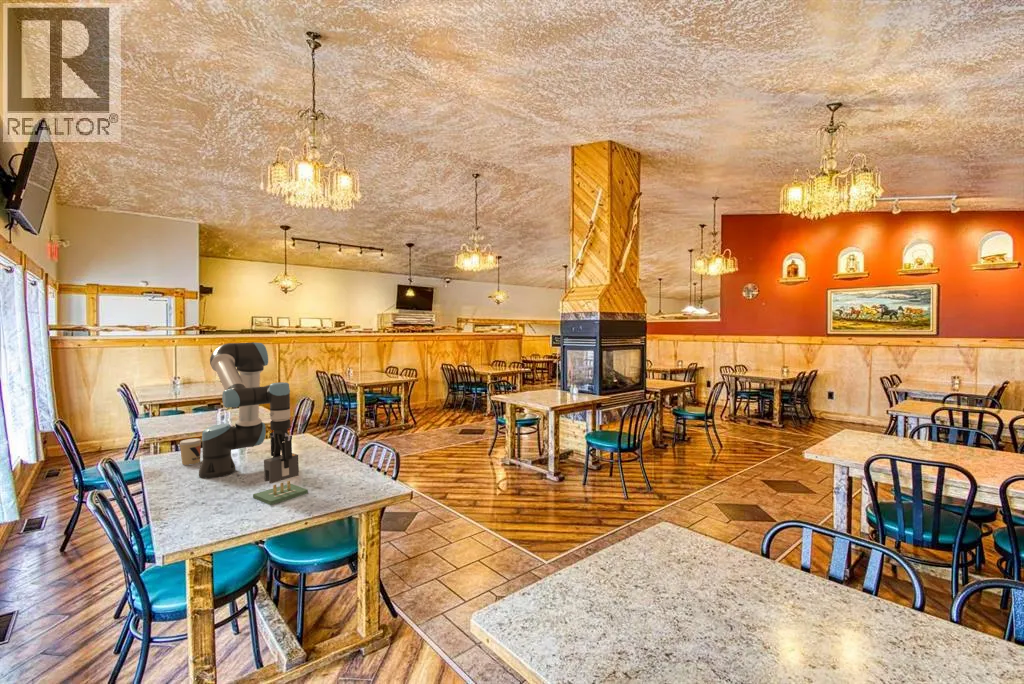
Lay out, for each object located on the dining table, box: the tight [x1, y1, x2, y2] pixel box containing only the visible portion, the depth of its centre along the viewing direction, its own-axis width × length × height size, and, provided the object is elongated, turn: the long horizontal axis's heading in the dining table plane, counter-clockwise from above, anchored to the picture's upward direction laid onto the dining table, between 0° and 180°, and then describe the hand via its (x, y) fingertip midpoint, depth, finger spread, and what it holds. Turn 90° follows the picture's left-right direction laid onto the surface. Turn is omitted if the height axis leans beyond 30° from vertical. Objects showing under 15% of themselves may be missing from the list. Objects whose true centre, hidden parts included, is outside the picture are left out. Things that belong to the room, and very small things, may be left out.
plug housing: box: [263, 452, 300, 484], centre depth 192 cm, size 5×12×9 cm, turn 145°
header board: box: [252, 480, 309, 506], centre depth 193 cm, size 14×16×6 cm
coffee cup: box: [179, 438, 202, 466], centre depth 241 cm, size 9×9×12 cm
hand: (281, 474), depth 192 cm, fingers closed on plug housing, 5 cm apart
